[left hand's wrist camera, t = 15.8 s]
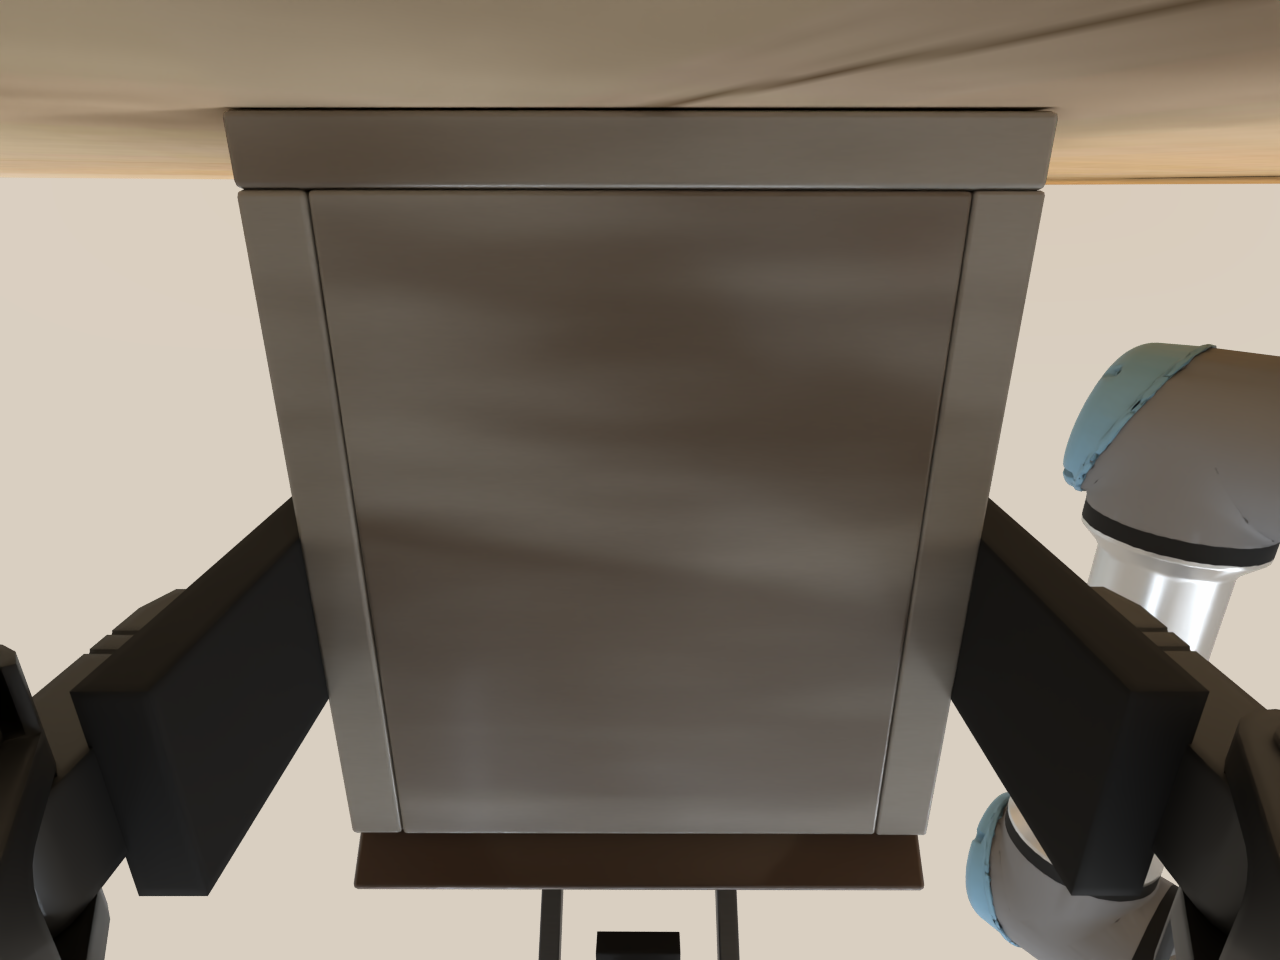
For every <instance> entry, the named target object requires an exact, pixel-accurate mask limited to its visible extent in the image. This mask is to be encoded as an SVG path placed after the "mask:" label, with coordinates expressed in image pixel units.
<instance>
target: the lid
mask: <svg viewBox="0 0 1280 960" xmlns="http://www.w3.org/2000/svg"><path fill="white" fill-rule="evenodd" d="M354 886H355V888H357V889H542V901H541V921H540V942H539V960H561V935H562V909H563V889H609V890H610V889H611V890H617V889H618V890H715V895H716V924H717V954H718V960H739V939H738V916H737V892H736V890H921V889H923V888H924V880H923V873H922V865H921V858H920V850H919V843H918V835H878V834H876V832H874V833H873V834H601V833H406V832H404V830H403V829H402V830H401V832H398V833H361V835H360V842H359V850H358V857H357V864H356V872H355V879H354Z"/></svg>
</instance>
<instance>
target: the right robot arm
mask: <svg viewBox="0 0 1280 960" xmlns="http://www.w3.org/2000/svg"><path fill="white" fill-rule="evenodd" d="M1063 465H1064V467H1065V469H1064V471H1063V475H1064V478H1065V481H1066V482H1067V483H1068V484H1069V485H1071V486H1073V487H1074V488H1075V489H1076V490H1078V491H1087V496H1086V501H1085V504H1084V508H1083V512H1082V522H1083V524H1084V525H1085V526H1086V527H1087V528H1088V530H1089V531H1090V532H1091V533H1092V535H1093V536H1094V537H1095V538H1096V540H1097V542H1098V546H1097V549H1096V553H1095V557H1094V561H1093V564H1092V568H1091V572H1090V576H1089V579H1088V583H1087V584H1088V585H1089V586H1090V587H1105V588H1107V589H1109V590H1111V591H1113V592H1115V593H1117V594H1119V595H1121V596H1123V597H1125V598H1127V599H1129V600H1131V601H1133V602H1135V603H1137V604H1139V605H1141V606H1142V607H1143V608H1144V609H1146V610H1147V611H1148V612H1149V613H1150V614H1152V615H1153V616H1154V617H1155V618H1157V619H1158V620H1159V621H1160V622H1161V623H1163V624H1164V625H1165V626H1166V627H1167V628H1168V629H1167V630H1168V632H1173V633H1175V634H1176V635H1177V636H1178V637H1180V638H1181V639H1182V640H1183V641H1184V642H1186V643H1187V644H1188V645H1189V646H1190V650H1191V651H1196V652H1198V653H1199V654H1200V655H1201V656H1203V657H1204V658H1205V659H1206V660H1207V661H1208V660H1209V658H1210V655H1211V652H1212V649H1213V646H1214V643H1215V640H1216V637H1217V634H1218V631H1219V628H1220V625H1221V623H1222V620H1223V617H1224V614H1225V611H1226V608H1227V605H1228V602H1229V599H1230V596H1231V593H1232V590H1233V587H1234V585H1235V582H1236V580H1237V579H1238V578H1239V577H1240V576H1242V575H1245V574H1248V573H1251V572H1254V571H1257V570H1260V569H1263V568H1265V567H1267V566H1269V565H1271V563H1272V561H1273V560H1274V558H1275V555H1276V552H1277V549H1278V547H1279V544H1280V356H1272V355H1264V354H1256V353H1248V352H1240V351H1233V350H1225V349H1217V348H1216V346H1215V345H1211V344H1206V345H1202V346H1190V345H1178V344H1166V343H1148V344H1143V345H1140V346H1137V347H1135V348H1133V349H1131V350H1129V351H1128V352H1126V353H1125V354H1123V355H1122V356H1121V357H1120V358H1118V359H1117V360H1116V361H1115V362H1114V363H1113V364H1112V365H1111V366H1110V368H1109V369H1108V370H1107V371H1106V372H1105V374H1104V375H1103V376H1102V378H1101V379H1100V380H1099V381H1098V383H1097V385H1096V386H1095V387H1094V389H1093V391H1092V392H1091V394H1090V395H1089V397H1088V399H1087V400H1086V402H1085V404H1084V406H1083V408H1082V410H1081V412H1080V414H1079V416H1078V418H1077V420H1076V422H1075V425H1074V427H1073V430H1072V432H1071V435H1070V438H1069V441H1068V444H1067V447H1066V451H1065V455H1064V461H1063ZM1163 867H1164V865H1163V864H1162V863H1161V861H1160V860H1159V859H1158V858H1157V856H1156V855H1155V854H1154V856H1153V859H1152V862H1151V865H1150V868H1149V871H1148V874H1147V877H1146V880H1145V883H1144V886H1143V888H1142V891H1141V894H1140V896H1071V894H1070V893H1069V891H1068V889H1067V888H1066V886H1065V885H1064V883H1063V881H1062V880H1061V878H1060V876H1059V875H1058V873H1057V872H1056V870H1055V868H1054V867H1053V865H1052V863H1051V862H1050V860H1049V858H1048V857H1047V855H1046V854H1045V852H1044V850H1043V849H1042V847H1041V845H1040V844H1039V842H1038V840H1037V839H1036V837H1035V836H1034V834H1033V832H1032V831H1031V829H1030V827H1029V826H1028V824H1027V823H1026V821H1025V819H1024V818H1023V816H1022V814H1021V813H1020V811H1019V809H1018V808H1017V806H1016V805H1015V803H1014V801H1013V800H1012V798H1011V796H1010V795H1009V793H1008V792H1006V793H1003V794H1001V795H1000V796H998V797H997V798H996V799H995V800H994V801H993V802H992V803H991V804H990V806H989V807H988V808H987V810H986V812H985V813H984V815H983V817H982V819H981V821H980V823H979V825H978V828H977V836H976V838H975V839H974V840H973V841H972V844H971V847H970V851H969V855H968V860H967V866H966V890H967V894H968V898H969V901H970V903H971V905H972V907H973V909H974V910H975V911H976V913H977V914H978V915H979V916H980V917H981V918H982V919H984V920H985V921H986V922H987V923H989V924H990V925H991V926H992V927H994V928H995V929H996V930H997V931H999V932H1000V933H1001V935H1002V936H1003V937H1004V938H1005V939H1006V940H1007V941H1008V942H1010V943H1011V944H1013V945H1014V946H1017V947H1021V948H1023V949H1024V950H1026V951H1027V952H1028V953H1030V954H1031V955H1032V956H1034V957H1035V958H1037V959H1038V960H1154V954H1155V951H1156V948H1157V945H1158V942H1159V940H1160V937H1161V934H1162V931H1163V929H1164V926H1165V923H1166V920H1167V918H1168V915H1169V912H1170V910H1171V907H1172V904H1173V901H1174V899H1175V896H1176V893H1177V890H1178V888H1179V887H1178V886H1176V885H1174V884H1173V883H1171V882H1169V881H1168V880H1166V879H1164V878H1163V877H1161V873H1162V871H1163ZM596 960H680V936H679V932H597V945H596ZM1169 960H1176V955H1175V954H1174V955H1172V956H1171V957H1170V959H1169Z"/></svg>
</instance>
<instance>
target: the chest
mask: <svg viewBox="0 0 1280 960" xmlns="http://www.w3.org/2000/svg"><path fill="white" fill-rule="evenodd" d="M223 120H224V126H225V131H226V137H227V142H228V148H229V153H230V158H231V164H232V169H233V175H234V180H235V183H236V185H237V186H238V187H240V188H242V189H244V190H242V191H240V192H238V202H239V208H240V213H241V219H242V224H243V230H244V235H245V241H246V246H247V252H248V257H249V263H250V268H251V274H252V279H253V285H254V290H255V295H256V301H257V306H258V312H259V318H260V323H261V329H262V334H263V340H264V345H265V350H266V356H267V361H268V367H269V372H270V378H271V383H272V389H273V394H274V400H275V405H276V411H277V416H278V422H279V427H280V433H281V438H282V444H283V449H284V455H285V460H286V465H287V471H288V477H289V482H290V488H291V493H292V499H293V504H294V510H295V515H296V521H297V526H298V532H299V537H300V543H301V548H302V554H303V559H304V564H305V570H306V575H307V581H308V586H309V592H310V597H311V603H312V608H313V614H314V619H315V625H316V630H317V636H318V641H319V647H320V652H321V658H322V663H323V669H324V674H325V680H326V685H327V691H328V696H329V702H330V707H331V713H332V718H333V724H334V729H335V735H336V740H337V746H338V751H339V757H340V762H341V768H342V773H343V778H344V784H345V789H346V795H347V800H348V806H349V811H350V817H351V822H352V828H353V831H354V832H357V833H398V832H401V830H402V829H403V830H404V832H406V833H601V834H873V833H874V832H876V834H878V835H924V834H926V830H927V825H928V819H929V814H930V808H931V803H932V798H933V792H934V787H935V782H936V776H937V771H938V765H939V760H940V755H941V749H942V744H943V739H944V733H945V728H946V722H947V717H948V712H949V706H950V701H951V696H952V690H953V685H954V680H955V674H956V669H957V664H958V658H959V653H960V647H961V642H962V637H963V631H964V626H965V620H966V615H967V610H968V604H969V599H970V593H971V588H972V583H973V577H974V572H975V566H976V561H977V556H978V550H979V545H980V539H981V535H982V529H983V524H984V519H985V513H986V508H987V502H988V497H989V492H990V486H991V481H992V476H993V470H994V465H995V460H996V454H997V449H998V443H999V438H1000V433H1001V427H1002V422H1003V417H1004V411H1005V406H1006V400H1007V395H1008V390H1009V384H1010V379H1011V374H1012V368H1013V363H1014V358H1015V352H1016V347H1017V341H1018V336H1019V331H1020V325H1021V320H1022V314H1023V309H1024V304H1025V299H1026V293H1027V288H1028V282H1029V277H1030V272H1031V266H1032V261H1033V255H1034V250H1035V245H1036V239H1037V234H1038V229H1039V223H1040V218H1041V213H1042V207H1043V202H1044V197H1045V195H1044V192H1042V191H1037V190H1039V189H1041V188H1043V187H1044V185H1045V183H1046V179H1047V173H1048V168H1049V162H1050V157H1051V152H1052V146H1053V141H1054V136H1055V130H1056V125H1057V114H1056V113H1054V112H1052V111H757V110H228V111H226V112H224V114H223Z"/></svg>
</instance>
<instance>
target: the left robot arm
mask: <svg viewBox="0 0 1280 960" xmlns="http://www.w3.org/2000/svg"><path fill="white" fill-rule="evenodd" d="M1167 629H1168V628H1167V627H1166V626H1165V625H1164V624H1163V623H1161V622H1160V621H1159V620H1158V619H1157V618H1155V617H1154V616H1153V615H1152V614H1150V613H1149V612H1148V611H1147V610H1146V609H1144V608H1143V607H1142V606H1141V605H1139V604H1137V603H1135V602H1133V601H1131V600H1129V599H1127V598H1125V597H1123V596H1121V595H1119V594H1117V593H1115V592H1113V591H1111V590H1109V589H1107V588H1105V587H1090V586H1089V585H1088V584H1087V583H1085V582H1084V581H1083V580H1082V579H1081V578H1080V577H1079V576H1077V575H1076V574H1075V573H1074V572H1073V571H1072V570H1071V569H1069V568H1068V567H1067V566H1066V565H1065V564H1064V563H1063V562H1061V561H1060V560H1059V559H1058V558H1057V557H1056V556H1055V555H1053V554H1052V553H1051V552H1050V551H1049V550H1048V549H1047V548H1045V547H1044V546H1043V545H1042V544H1041V543H1040V542H1039V541H1038V540H1036V539H1035V538H1034V537H1033V536H1032V535H1031V534H1030V533H1028V532H1027V531H1026V530H1025V529H1024V528H1023V527H1022V526H1020V525H1019V524H1018V523H1017V522H1016V521H1015V520H1013V519H1012V518H1011V517H1010V516H1009V515H1008V514H1007V513H1006V512H1004V511H1003V510H1002V509H1001V508H1000V507H999V506H998V505H996V504H995V503H994V502H993V501H992V500H991V499H990V498H989V497H988V502H987V508H986V513H985V519H984V524H983V529H982V535H981V539H980V545H979V550H978V556H977V561H976V566H975V572H974V577H973V583H972V588H971V593H970V599H969V604H968V610H967V615H966V620H965V626H964V631H963V637H962V642H961V647H960V653H959V658H958V664H957V669H956V674H955V680H954V685H953V690H952V696H951V700H952V702H953V703H954V705H955V706H956V708H957V710H958V711H959V713H960V715H961V716H962V718H963V720H964V721H965V723H966V725H967V726H968V728H969V729H970V731H971V733H972V734H973V736H974V738H975V739H976V741H977V743H978V744H979V746H980V747H981V749H982V751H983V752H984V754H985V756H986V757H987V759H988V760H989V762H990V764H991V765H992V767H993V769H994V770H995V772H996V773H997V775H998V777H999V778H1000V780H1001V782H1002V783H1003V785H1004V787H1005V788H1006V790H1007V791H1008V793H1009V795H1010V796H1011V798H1012V800H1013V801H1014V803H1015V805H1016V806H1017V808H1018V809H1019V811H1020V813H1021V814H1022V816H1023V818H1024V819H1025V821H1026V823H1027V824H1028V826H1029V827H1030V829H1031V831H1032V832H1033V834H1034V836H1035V837H1036V839H1037V840H1038V842H1039V844H1040V845H1041V847H1042V849H1043V850H1044V852H1045V854H1046V855H1047V857H1048V858H1049V860H1050V862H1051V863H1052V865H1053V867H1054V868H1055V870H1056V872H1057V873H1058V875H1059V876H1060V878H1061V880H1062V881H1063V883H1064V885H1065V886H1066V888H1067V889H1068V891H1069V893H1070V894H1071V896H1140V894H1141V891H1142V888H1143V886H1144V883H1145V880H1146V877H1147V874H1148V871H1149V868H1150V865H1151V862H1152V859H1153V856H1154V854H1155V855H1156V856H1157V858H1158V859H1159V860H1160V861H1161V863H1162V864H1163V865H1164V866H1165V868H1166V869H1167V870H1168V872H1169V873H1170V874H1171V875H1172V877H1173V878H1174V879H1175V881H1176V882H1177V883H1178V885H1179V888H1178V890H1177V893H1176V896H1175V899H1174V901H1173V904H1172V907H1171V910H1170V912H1169V915H1168V918H1167V920H1166V923H1165V926H1164V929H1163V931H1162V934H1161V937H1160V940H1159V942H1158V945H1157V948H1156V951H1155V954H1154V960H1169V959H1170V957H1171V956H1172V955H1174V954H1175V955H1176V960H1280V710H1278V709H1271V710H1267V709H1265V708H1264V707H1263V706H1262V705H1261V704H1259V703H1258V702H1257V701H1256V700H1255V699H1253V698H1252V697H1251V696H1250V695H1249V694H1247V693H1246V692H1245V691H1244V690H1242V689H1241V688H1240V687H1239V686H1238V685H1236V684H1235V683H1234V682H1233V681H1232V680H1230V679H1229V678H1228V677H1227V676H1226V675H1224V674H1223V673H1222V672H1221V671H1219V670H1218V669H1217V668H1216V667H1215V666H1213V665H1212V664H1211V663H1210V662H1209V661H1207V660H1206V659H1205V658H1204V657H1203V656H1201V655H1200V654H1199V653H1198V652H1196V651H1191V650H1190V646H1189V645H1188V644H1187V643H1186V642H1184V641H1183V640H1182V639H1181V638H1180V637H1178V636H1177V635H1176V634H1175V633H1173V632H1168V630H1167ZM328 699H329V696H328V691H327V685H326V680H325V674H324V669H323V663H322V658H321V652H320V647H319V641H318V636H317V630H316V625H315V619H314V614H313V608H312V603H311V597H310V592H309V586H308V581H307V575H306V570H305V564H304V559H303V554H302V548H301V543H300V537H299V532H298V526H297V521H296V515H295V510H294V504H293V499H292V497H291V498H290V499H288V500H287V501H286V502H285V503H284V504H283V505H282V506H280V507H279V508H278V509H277V510H276V511H275V512H274V513H272V514H271V515H270V516H269V517H268V518H267V519H266V520H264V521H263V522H262V523H261V524H260V525H259V526H258V527H257V528H255V529H254V530H253V531H252V532H251V533H250V534H249V535H247V536H246V537H245V538H244V539H243V540H242V541H241V542H239V543H238V544H237V545H236V546H235V547H234V548H233V549H231V550H230V551H229V552H228V553H227V554H226V555H225V556H223V557H222V558H221V559H220V560H219V561H218V562H217V563H216V564H214V565H213V566H212V567H211V568H210V569H209V570H207V571H206V572H205V573H204V574H203V575H202V576H201V577H199V578H198V579H197V580H196V581H195V582H194V583H193V584H191V585H190V586H189V587H188V588H187V589H176V590H174V591H172V592H170V593H168V594H166V595H164V596H162V597H160V598H158V599H156V600H154V601H152V602H150V603H148V604H146V605H144V606H142V607H140V608H139V609H138V610H136V611H135V612H134V613H133V614H132V615H130V616H129V617H128V618H127V619H125V620H124V621H123V622H122V623H121V624H119V625H118V626H117V627H116V628H115V629H114V630H112V635H106V636H105V637H104V638H103V639H101V640H100V641H99V642H98V643H97V644H95V645H94V646H93V647H92V648H91V649H90V653H89V654H83V655H82V656H81V657H80V658H79V659H78V660H76V661H75V662H74V663H73V664H71V665H70V666H69V667H68V668H67V669H65V670H64V671H63V672H62V673H61V674H59V675H58V676H57V677H56V678H55V679H53V680H52V681H51V682H50V683H49V684H47V685H46V686H45V687H44V688H43V689H41V690H40V691H39V692H38V693H37V694H35V695H34V696H33V697H32V696H31V693H30V690H29V688H28V685H27V682H26V679H25V677H24V674H23V671H22V669H21V666H20V663H19V660H18V657H17V655H16V652H15V651H13V650H11V649H9V648H7V647H6V646H4V645H0V960H104V958H105V950H106V944H107V937H108V930H109V922H110V917H109V911H108V905H107V901H106V899H105V896H104V893H103V890H102V886H103V885H104V884H105V883H106V881H107V880H108V879H109V877H110V876H111V875H112V873H113V872H114V871H115V870H116V868H117V867H118V866H119V864H120V863H121V862H122V861H123V859H124V858H125V857H126V859H127V862H128V865H129V868H130V871H131V874H132V877H133V880H134V883H135V885H136V888H137V891H138V894H139V896H208V895H209V893H210V891H211V890H212V888H213V887H214V885H215V883H216V882H217V880H218V878H219V877H220V875H221V874H222V872H223V870H224V869H225V867H226V865H227V864H228V862H229V860H230V859H231V857H232V856H233V854H234V852H235V851H236V849H237V847H238V846H239V844H240V843H241V841H242V839H243V838H244V836H245V834H246V833H247V831H248V829H249V828H250V826H251V825H252V823H253V821H254V820H255V818H256V816H257V815H258V813H259V811H260V810H261V808H262V807H263V805H264V803H265V802H266V800H267V798H268V797H269V795H270V793H271V792H272V790H273V789H274V787H275V785H276V784H277V782H278V780H279V779H280V777H281V776H282V774H283V772H284V771H285V769H286V767H287V766H288V764H289V762H290V761H291V759H292V758H293V756H294V754H295V753H296V751H297V749H298V748H299V746H300V744H301V743H302V741H303V740H304V738H305V736H306V735H307V733H308V732H309V730H310V728H311V727H312V725H313V723H314V722H315V720H316V718H317V717H318V715H319V714H320V712H321V710H322V709H323V707H324V705H325V704H326V702H327V701H328Z"/></svg>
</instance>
